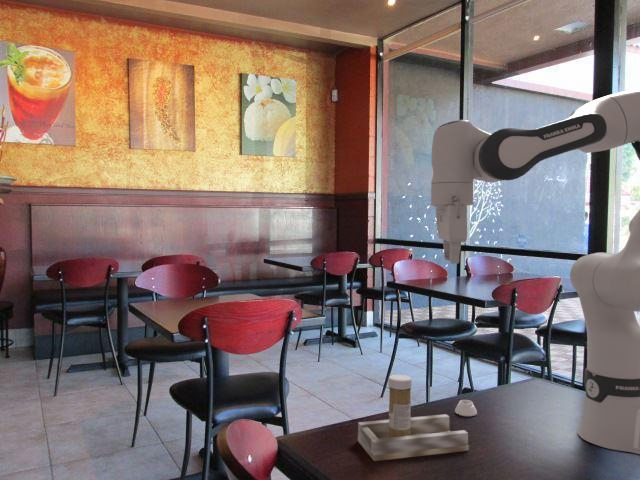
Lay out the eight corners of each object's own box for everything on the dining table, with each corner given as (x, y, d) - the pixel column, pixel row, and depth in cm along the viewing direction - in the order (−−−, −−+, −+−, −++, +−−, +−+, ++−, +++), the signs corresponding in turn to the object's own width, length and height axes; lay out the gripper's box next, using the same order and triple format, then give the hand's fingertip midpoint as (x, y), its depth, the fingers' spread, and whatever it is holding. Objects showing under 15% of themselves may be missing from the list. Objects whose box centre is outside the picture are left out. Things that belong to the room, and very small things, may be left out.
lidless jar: (472, 419, 130) (479, 413, 134) (472, 406, 130) (479, 401, 134) (451, 414, 133) (459, 409, 137) (452, 402, 133) (459, 397, 137)
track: (445, 431, 122) (445, 413, 122) (468, 450, 112) (468, 430, 112) (357, 440, 117) (357, 422, 117) (374, 461, 107) (374, 440, 107)
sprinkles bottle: (389, 437, 116) (389, 373, 116) (411, 439, 115) (412, 374, 115) (387, 446, 112) (387, 379, 111) (410, 448, 111) (410, 380, 110)
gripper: (475, 195, 109) (474, 265, 110) (460, 198, 130) (459, 258, 130) (442, 195, 110) (441, 265, 111) (432, 199, 130) (431, 258, 131)
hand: (451, 261), depth 121 cm, fingers open, 8 cm apart
